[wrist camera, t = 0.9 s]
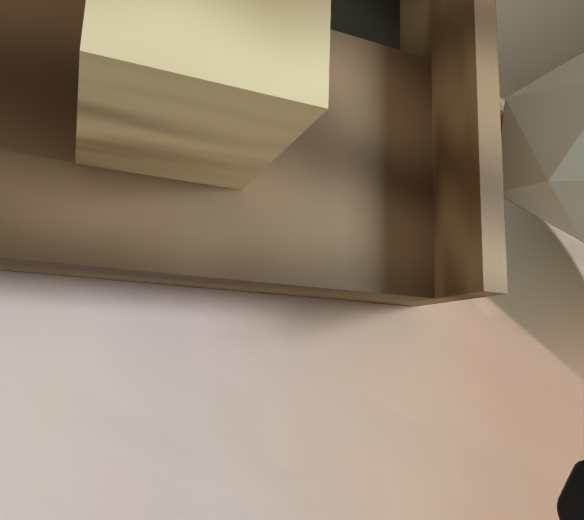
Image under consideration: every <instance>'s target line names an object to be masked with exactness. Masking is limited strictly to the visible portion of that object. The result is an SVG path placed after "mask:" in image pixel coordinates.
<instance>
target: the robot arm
mask: <svg viewBox="0 0 584 520" xmlns="http://www.w3.org/2000/svg"><path fill="white" fill-rule="evenodd" d="M557 512H558V516H559V519H560V520H584V460H582V461H579V462H578V463H576V464H575V466H574V467H573V469H572V471H571V473H570V475H569V477H568V479H567V481H566V483H565V485H564V487H563V490H562V492H561V494H560V496H559V498H558V502H557Z"/></svg>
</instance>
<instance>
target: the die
mask: <svg viewBox="0 0 584 520" xmlns="http://www.w3.org/2000/svg"><path fill="white" fill-rule="evenodd" d="M501 143H502V167H503V191H504V198H505V199H507V200H509V201H510V202H512V203H514V204H516V205H518V206H519V207H521V208H523V209H525V210H527V211H528V212H530V213H532V214H534V215H536V216H537V217H539V218H541V219H543V220H544V221H546V222H548V223H550V224H551V225H553V226H555V227H557V228H559V229H560V230H562V231H564V232H566V233H567V234H569V235H571V236H573V237H575V238H576V239H578V240H580V241H582V242H583V243H584V52H583V53H581V54H579V55H578V56H576V57H574V58H573V59H571V60H569V61H568V62H566V63H564V64H562V65H561V66H559V67H557V68H556V69H554V70H552V71H551V72H549V73H547V74H546V75H544V76H542V77H540V78H539V79H537V80H535V81H534V82H532V83H530V84H529V85H527V86H525V87H524V88H522V89H520V90H518V91H517V92H515V93H513V94H512V95H510V96H508V97H507V98H505V106H504V115H503V125H502V134H501Z"/></svg>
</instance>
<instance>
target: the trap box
mask: <svg viewBox="0 0 584 520" xmlns="http://www.w3.org/2000/svg"><path fill="white" fill-rule="evenodd" d="M85 3H86V0H0V270H7V271H19V272H30V273H41V274H53V275H64V276H76V277H87V278H99V279H110V280H122V281H133V282H145V283H156V284H168V285H179V286H190V287H202V288H213V289H225V290H236V291H248V292H259V293H271V294H282V295H294V296H305V297H316V298H328V299H339V300H351V301H362V302H374V303H385V304H397V305H408V306H422V305H429V304H437V303H444V302H451V301H458V300H466V299H473V298H480V297H487V296H494V295H502V294H507V293H508V289H507V264H506V240H505V216H504V191H503V167H502V143H501V119H500V96H499V95H500V94H499V73H498V72H499V71H498V47H497V25H496V24H497V22H496V0H331V19H330V60H329V100H328V110H326V111H325V112H324V113H323V114H322V115H321V116H320V117H319V118H318V119H317V120H316V121H315V122H314V123H313V124H312V125H311V126H309V127H308V128H307V129H306V130H305V131H304V132H303V133H302V134H301V135H300V136H299V137H298V138H297V139H296V140H295V141H294V142H292V143H291V144H290V145H289V146H288V147H287V148H286V149H285V150H284V151H283V152H282V153H281V154H280V155H279V156H278V157H277V158H275V159H274V160H273V161H272V162H271V163H270V164H269V165H268V166H267V167H266V168H265V169H264V170H263V171H262V172H261V173H260V174H258V175H257V176H256V177H255V178H254V179H253V180H252V181H251V182H250V183H249V184H248V185H247V186H246V187H245V188H244V189H243V190H237V189H231V188H225V187H218V186H212V185H206V184H200V183H194V182H187V181H181V180H175V179H169V178H162V177H156V176H150V175H144V174H138V173H131V172H125V171H119V170H113V169H106V168H100V167H94V166H88V165H81V164H75V152H76V128H77V104H78V79H79V55H80V44H81V36H82V27H83V19H84V11H85Z"/></svg>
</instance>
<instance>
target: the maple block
mask: <svg viewBox="0 0 584 520" xmlns="http://www.w3.org/2000/svg"><path fill="white" fill-rule="evenodd" d="M330 19H331V0H86V3H85V11H84V19H83V27H82V36H81V44H80V55H79V79H78V104H77V128H76V152H75V164H81V165H88V166H94V167H100V168H106V169H113V170H119V171H125V172H131V173H138V174H144V175H150V176H156V177H162V178H169V179H175V180H181V181H187V182H194V183H200V184H206V185H212V186H218V187H225V188H231V189H237V190H243V189H244V188H245V187H246V186H247V185H248V184H249V183H250V182H251V181H252V180H253V179H254V178H255V177H256V176H257V175H258V174H260V173H261V172H262V171H263V170H264V169H265V168H266V167H267V166H268V165H269V164H270V163H271V162H272V161H273V160H274V159H275V158H277V157H278V156H279V155H280V154H281V153H282V152H283V151H284V150H285V149H286V148H287V147H288V146H289V145H290V144H291V143H292V142H294V141H295V140H296V139H297V138H298V137H299V136H300V135H301V134H302V133H303V132H304V131H305V130H306V129H307V128H308V127H309V126H311V125H312V124H313V123H314V122H315V121H316V120H317V119H318V118H319V117H320V116H321V115H322V114H323V113H324V112H325V111H326V110H328V100H329V60H330Z"/></svg>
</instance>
